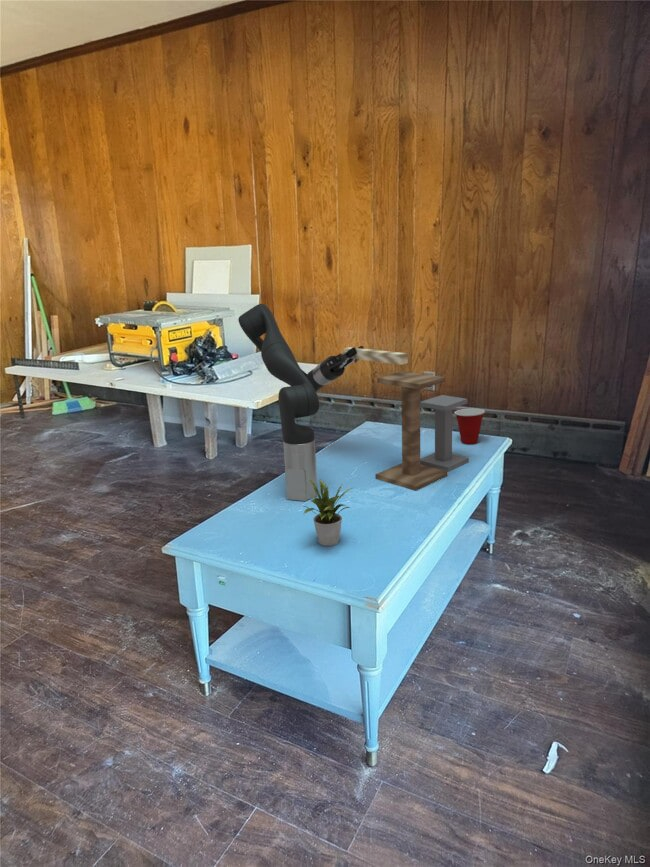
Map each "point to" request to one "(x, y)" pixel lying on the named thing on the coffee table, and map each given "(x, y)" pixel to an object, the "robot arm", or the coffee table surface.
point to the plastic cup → (469, 424)
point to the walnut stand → (411, 433)
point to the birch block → (380, 356)
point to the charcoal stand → (443, 433)
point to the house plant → (327, 515)
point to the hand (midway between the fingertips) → (359, 349)
